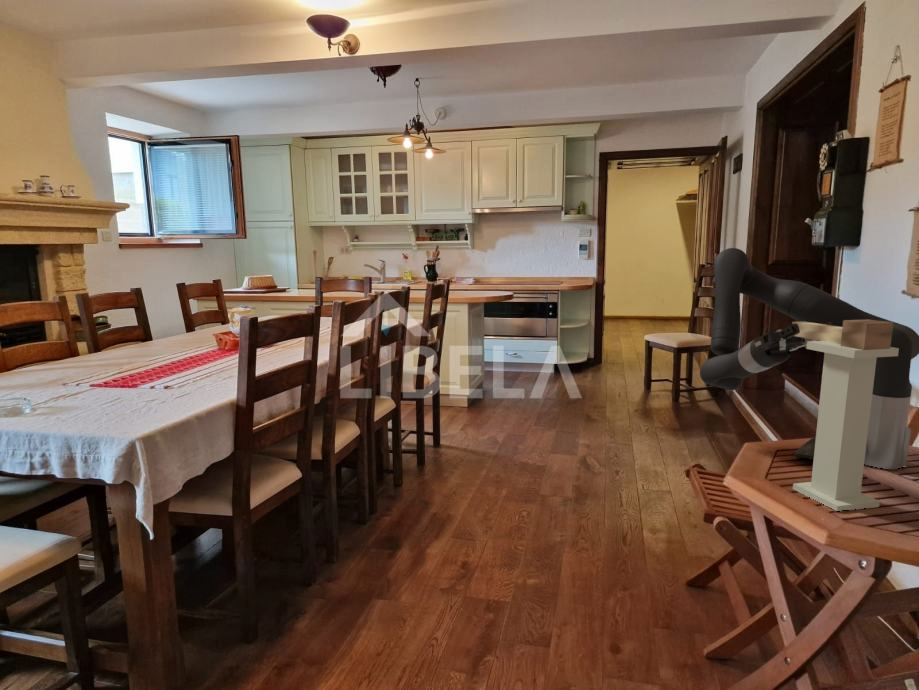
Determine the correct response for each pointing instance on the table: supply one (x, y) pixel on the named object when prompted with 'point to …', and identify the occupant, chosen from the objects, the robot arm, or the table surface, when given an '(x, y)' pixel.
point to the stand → (842, 426)
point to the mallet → (850, 333)
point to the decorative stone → (807, 450)
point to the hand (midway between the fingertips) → (814, 326)
